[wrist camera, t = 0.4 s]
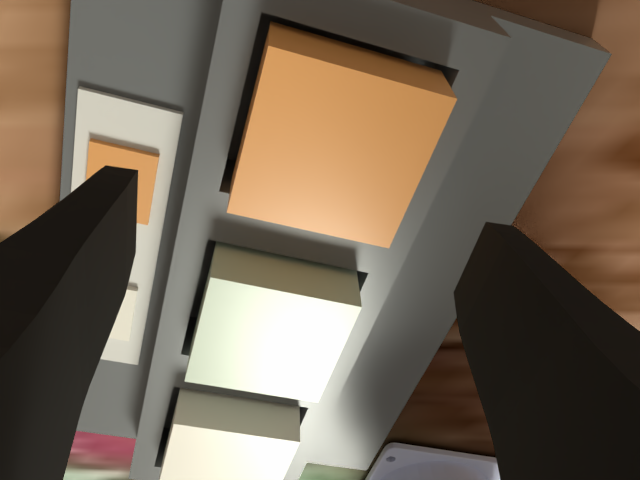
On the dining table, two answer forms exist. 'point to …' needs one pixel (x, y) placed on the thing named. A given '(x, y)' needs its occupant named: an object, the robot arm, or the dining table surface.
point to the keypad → (217, 225)
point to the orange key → (336, 137)
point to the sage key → (271, 323)
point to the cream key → (229, 438)
